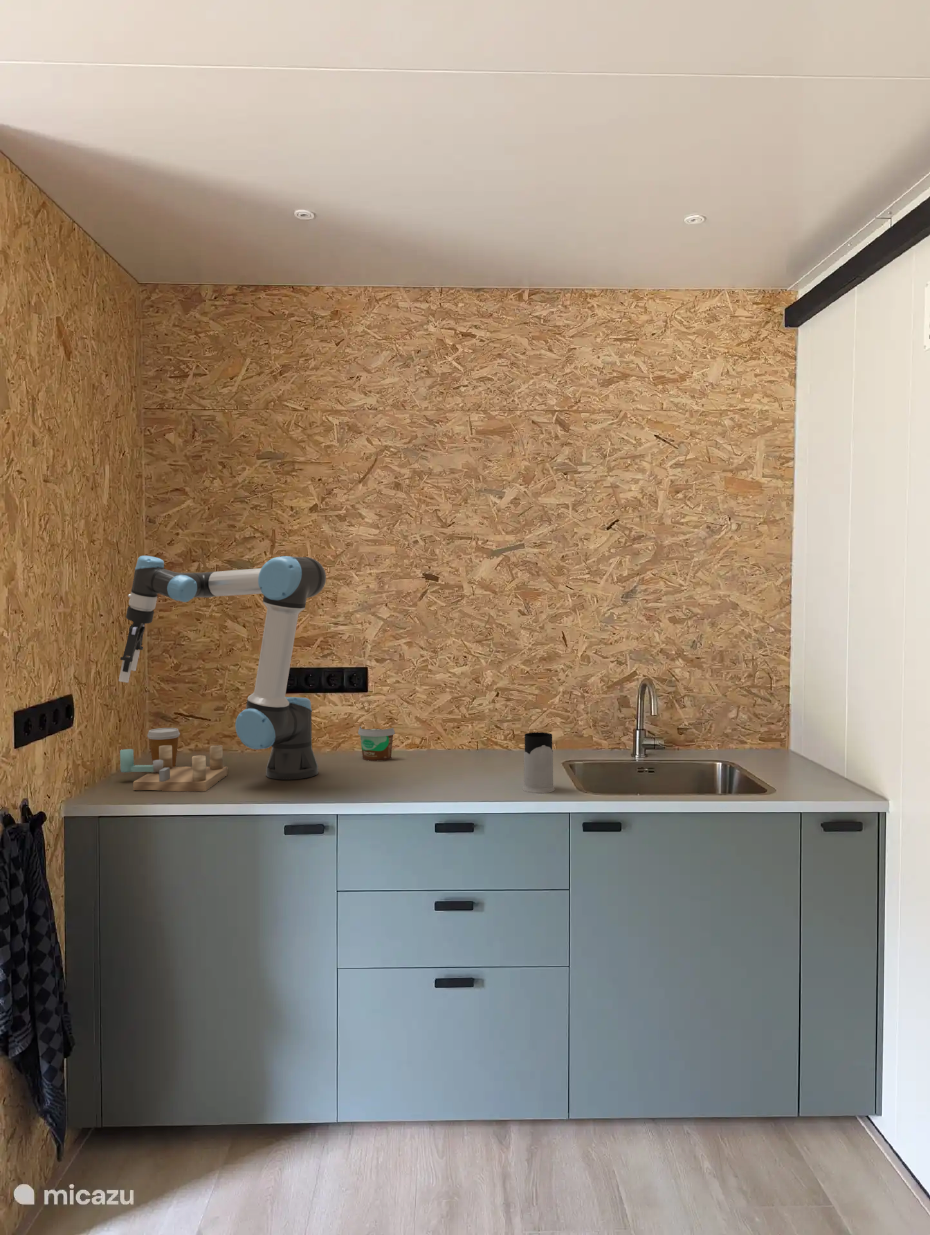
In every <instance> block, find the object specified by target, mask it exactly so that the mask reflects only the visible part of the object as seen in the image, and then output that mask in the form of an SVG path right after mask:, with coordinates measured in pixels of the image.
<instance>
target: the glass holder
mask: <svg viewBox="0 0 930 1235" xmlns="http://www.w3.org/2000/svg"><path fill="white" fill-rule="evenodd" d="M554 786H555V785H554V750H553V734H552V733H549V732H543V731H541V732H540V731H539V732H528V733H527V732H526V733H525V734H524V751H523V786H522V790H523V791H524V792H526V793H532V794H546V793H548V794H549V793H551V792H554V791H555V790H556V789H555V787H554Z"/></svg>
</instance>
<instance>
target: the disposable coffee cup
mask: <svg viewBox="0 0 930 1235" xmlns="http://www.w3.org/2000/svg"><path fill="white" fill-rule="evenodd" d="M180 735H181V732H180V731H179V728H175V727H162V728H152V729H149V730H148V733H147V739H148V740H149V747H150V748H149V749H150V756H151V760H152V761H151V762H152V763H153V761H154V760H159V746H163V745H171V746H172V767H177V766H176V765H177V764H176V763H177V756H178V746H179V737H180Z"/></svg>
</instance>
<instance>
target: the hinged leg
mask: <svg viewBox="0 0 930 1235" xmlns="http://www.w3.org/2000/svg"><path fill="white" fill-rule="evenodd" d="M134 753H135V752H134V749H133V748H127V749H126V748H125V749H121V750H119V758H120V759H119V761H120V762H119V763H120V765H119V767H120V772H121V773H131V772H133V773H135V772H137V773H142V772H143V773H150V772H159V770H161V769H163V760H154V761H153V762H152V764H135V760H134V759H135V758H134V757H135V756H134Z"/></svg>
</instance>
